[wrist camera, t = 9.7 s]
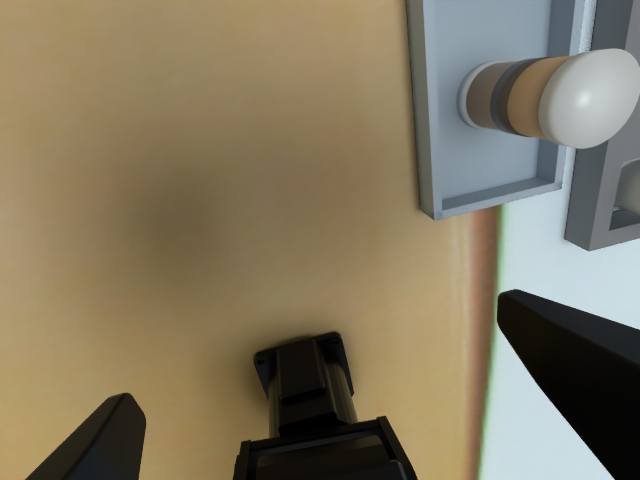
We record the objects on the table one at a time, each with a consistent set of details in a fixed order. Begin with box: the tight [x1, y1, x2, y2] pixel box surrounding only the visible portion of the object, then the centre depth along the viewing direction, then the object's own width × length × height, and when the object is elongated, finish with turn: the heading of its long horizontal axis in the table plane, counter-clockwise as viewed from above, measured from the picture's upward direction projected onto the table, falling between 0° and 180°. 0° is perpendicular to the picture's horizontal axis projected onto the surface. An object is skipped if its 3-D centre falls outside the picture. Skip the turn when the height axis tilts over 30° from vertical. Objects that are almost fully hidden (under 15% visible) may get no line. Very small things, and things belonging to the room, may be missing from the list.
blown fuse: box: [456, 49, 640, 149], centre depth 15 cm, size 3×3×7 cm
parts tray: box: [406, 0, 585, 221], centre depth 18 cm, size 12×8×2 cm, turn 12°
